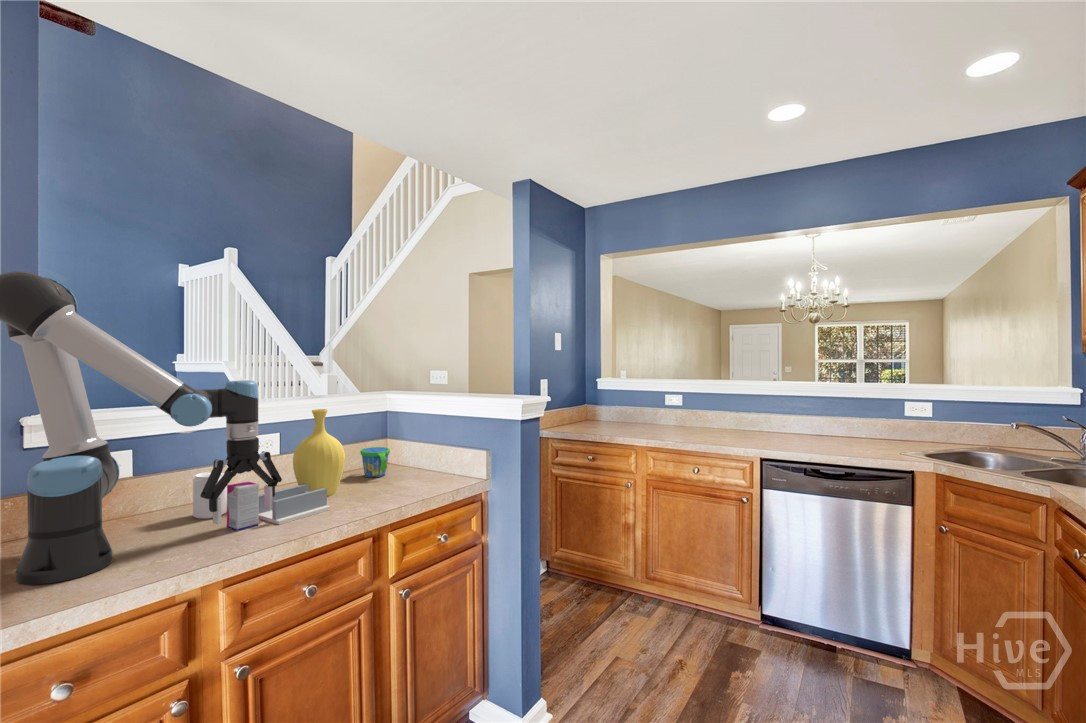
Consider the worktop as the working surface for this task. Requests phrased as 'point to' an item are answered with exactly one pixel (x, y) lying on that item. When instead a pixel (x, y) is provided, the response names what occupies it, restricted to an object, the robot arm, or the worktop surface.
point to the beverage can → (201, 503)
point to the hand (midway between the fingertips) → (243, 516)
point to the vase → (319, 458)
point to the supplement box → (242, 505)
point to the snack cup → (375, 461)
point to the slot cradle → (294, 504)
